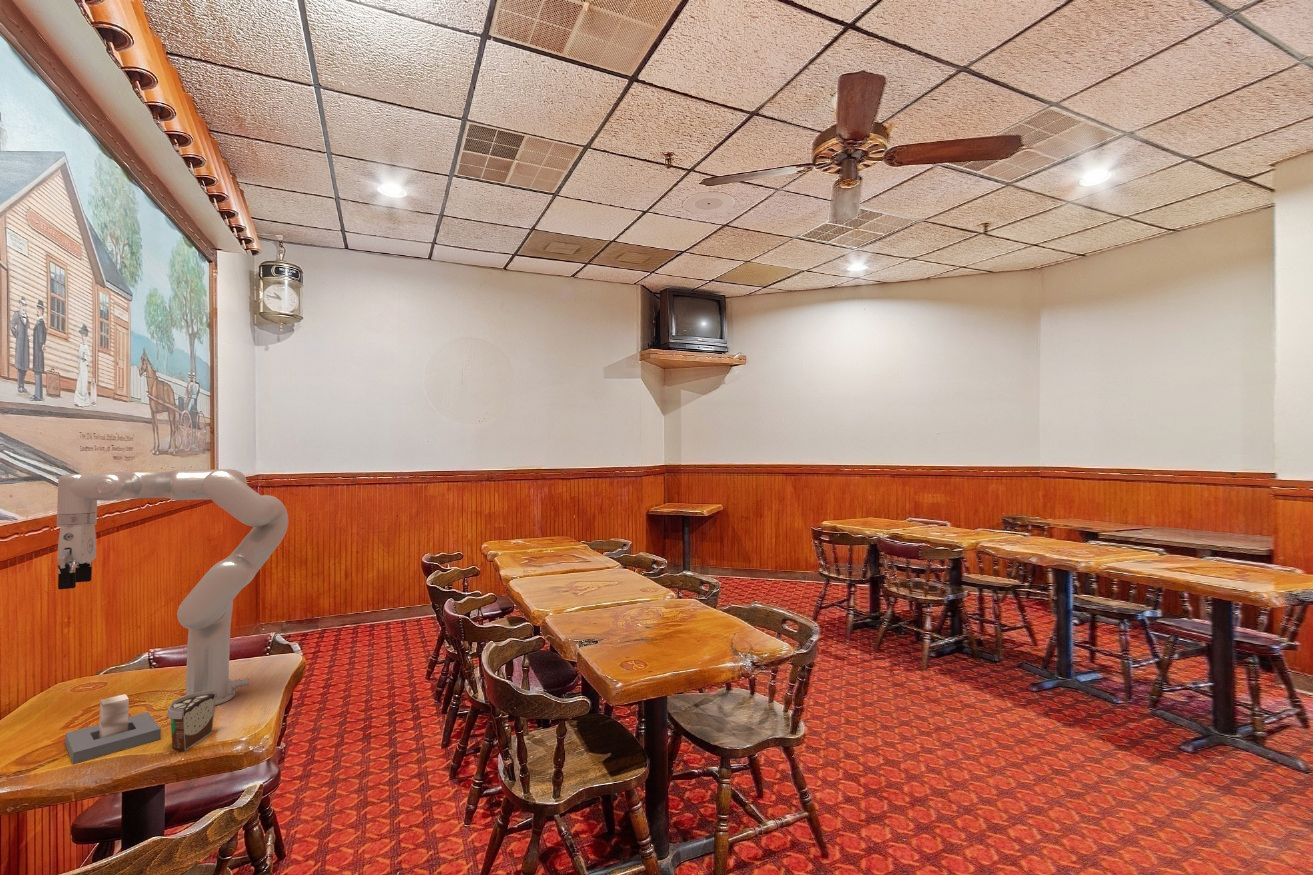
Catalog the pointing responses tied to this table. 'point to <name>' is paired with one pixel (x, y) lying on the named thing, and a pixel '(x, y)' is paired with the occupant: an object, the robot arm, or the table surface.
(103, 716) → the off-white block
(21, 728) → the table surface
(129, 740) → the charcoal pocket board
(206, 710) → the food container
